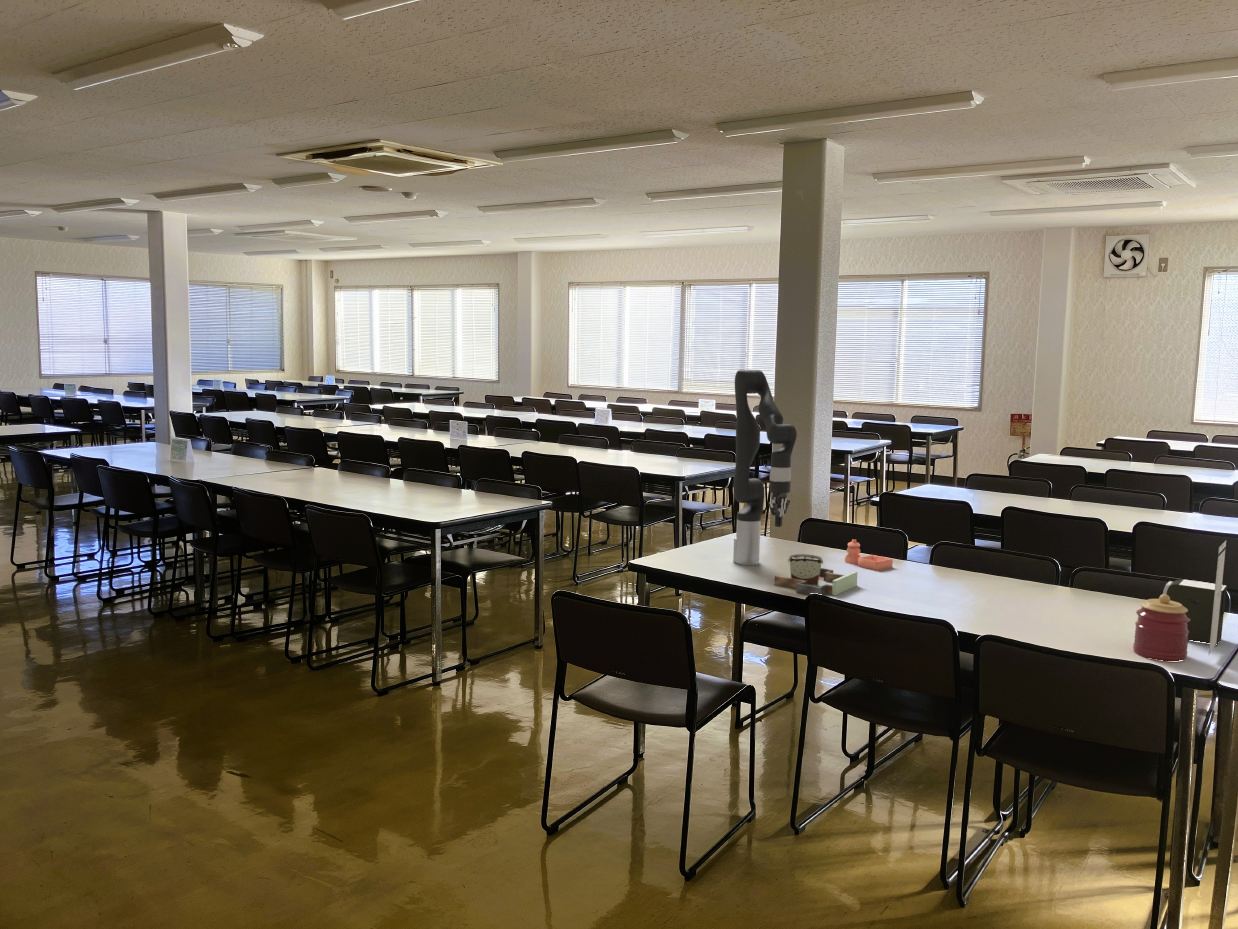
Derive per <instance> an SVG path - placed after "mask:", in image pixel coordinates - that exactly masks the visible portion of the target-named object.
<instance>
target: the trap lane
mask: <svg viewBox="0 0 1238 929" xmlns="http://www.w3.org/2000/svg"><path fill="white" fill-rule="evenodd" d="M773 581H774V582H773V583H774V585H775V584H778V585H777V586H781V585H783V586H782V587H786V586H788V587H787V588H792V587H793V588H794V589H796V593H797V592H799V593H798V594H803V593H805V594H804V595H808V594H810V593H818V594H822V596H824V595H826V594H827V595H830V596H831V595H832V596H837V595H839V594H841V593H844V592H846V591H847V590H850V589H852V588H855V587H857V586H858V571H852V572H850V573H847V574H840V573H839V574H838V573H835V572H834V569H829V568H824V567H821V569H820V576H819V581H825V582H829V583H830V582H831V583H832V584H823V585H821V586H816V585H807V581H805V580H799V579H793V578H791V577H789V576H788V577H787V576H781V575H774V580H773ZM793 588H792V589H793Z"/></svg>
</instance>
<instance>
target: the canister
mask: <svg viewBox="0 0 1238 929" xmlns="http://www.w3.org/2000/svg"><path fill="white" fill-rule="evenodd" d="M1139 604H1140V607H1141V608H1140V609H1137V610H1136V611H1135V613H1136V615H1137V620H1136V622H1135V628H1134V629H1135V630H1134V642H1133V645H1132V648H1133V652H1134V654H1136V655H1138V656H1140V657H1142V658H1146V659H1148V658H1152V659H1157V660H1163V661H1179V660H1184V659H1187V657H1188V644H1189V641H1188V635H1189V629H1188V622H1189V621H1190V620H1191V618H1190V617H1189V616H1187V615H1186V612H1187V611H1188V609H1187V608H1185V607H1184V606H1183V605H1182V604H1180V603H1178V602H1175V601H1170V597H1169V596H1168V595H1166V594H1163V593H1162V594H1160V596H1159V597H1158V598H1148V599H1146V600H1145V601H1142V602H1140V603H1139ZM1152 659H1151V660H1152Z"/></svg>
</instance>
